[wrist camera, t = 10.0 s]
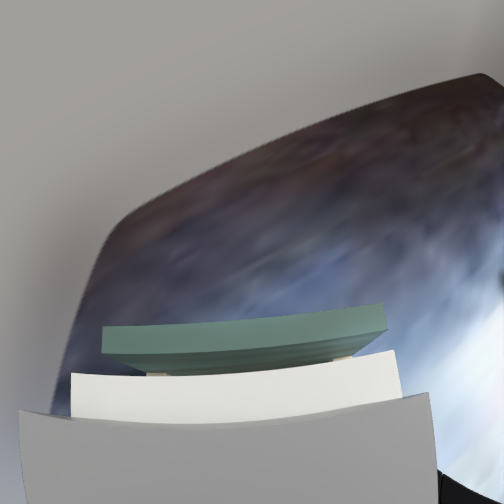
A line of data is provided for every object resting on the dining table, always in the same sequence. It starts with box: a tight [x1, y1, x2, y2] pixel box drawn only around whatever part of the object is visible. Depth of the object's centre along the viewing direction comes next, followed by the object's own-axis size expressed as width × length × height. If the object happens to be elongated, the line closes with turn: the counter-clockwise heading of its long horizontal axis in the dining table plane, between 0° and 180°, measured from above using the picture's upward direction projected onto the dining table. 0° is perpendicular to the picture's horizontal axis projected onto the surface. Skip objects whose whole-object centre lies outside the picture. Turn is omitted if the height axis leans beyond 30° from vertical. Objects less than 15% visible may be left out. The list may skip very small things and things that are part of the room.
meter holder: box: [102, 303, 388, 376], centre depth 11 cm, size 10×10×7 cm
